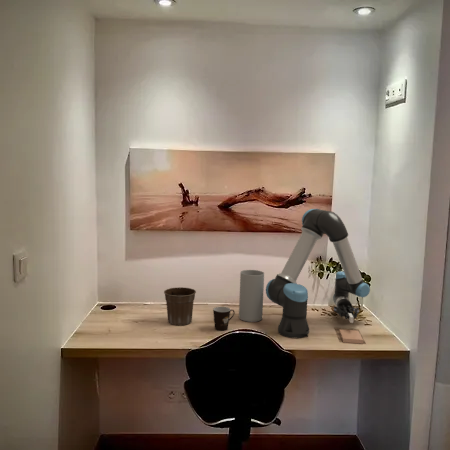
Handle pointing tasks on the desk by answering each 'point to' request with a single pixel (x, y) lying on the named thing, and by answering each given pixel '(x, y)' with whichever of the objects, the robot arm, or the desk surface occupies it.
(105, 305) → the desk surface
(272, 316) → the desk surface
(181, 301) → the plant pot
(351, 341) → the picture frame
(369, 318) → the desk surface
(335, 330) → the board
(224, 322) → the coffee mug
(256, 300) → the cylinder vase
